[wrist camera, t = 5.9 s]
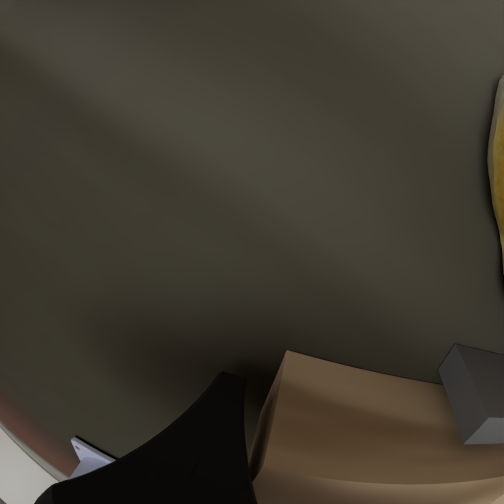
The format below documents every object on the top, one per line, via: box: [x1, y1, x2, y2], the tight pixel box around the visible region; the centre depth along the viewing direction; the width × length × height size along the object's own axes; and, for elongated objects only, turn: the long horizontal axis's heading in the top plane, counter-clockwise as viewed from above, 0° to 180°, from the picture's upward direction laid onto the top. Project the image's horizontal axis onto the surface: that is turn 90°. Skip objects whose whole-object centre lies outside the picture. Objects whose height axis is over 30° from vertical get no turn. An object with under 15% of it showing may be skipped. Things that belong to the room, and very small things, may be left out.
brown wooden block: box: [248, 350, 504, 504], centre depth 8 cm, size 4×10×4 cm, turn 76°
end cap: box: [438, 344, 504, 444], centre depth 8 cm, size 7×6×4 cm
